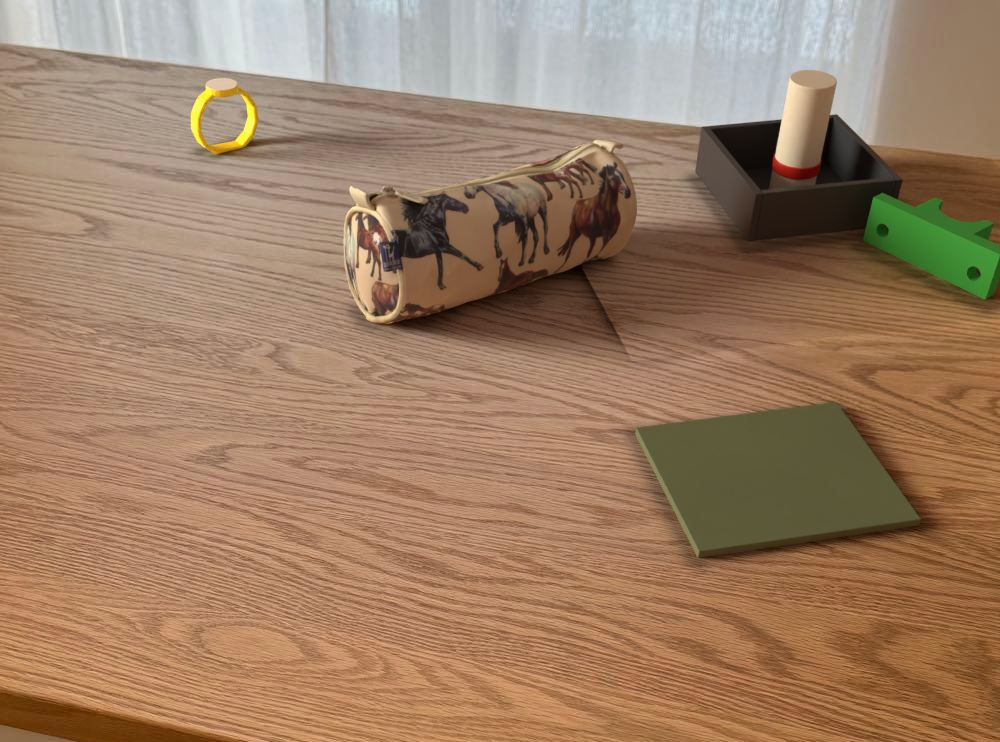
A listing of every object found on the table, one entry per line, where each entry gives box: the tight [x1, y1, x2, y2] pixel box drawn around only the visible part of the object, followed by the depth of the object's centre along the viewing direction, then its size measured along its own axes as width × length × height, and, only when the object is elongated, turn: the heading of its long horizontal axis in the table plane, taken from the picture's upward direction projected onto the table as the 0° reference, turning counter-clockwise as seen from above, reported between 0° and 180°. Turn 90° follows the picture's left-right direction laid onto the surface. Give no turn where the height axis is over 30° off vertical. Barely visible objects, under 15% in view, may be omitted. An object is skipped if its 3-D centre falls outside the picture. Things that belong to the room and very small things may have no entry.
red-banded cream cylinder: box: [769, 69, 838, 189], centre depth 100 cm, size 4×4×10 cm
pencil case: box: [343, 139, 638, 325], centre depth 91 cm, size 22×8×10 cm, turn 119°
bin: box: [695, 114, 904, 242], centre depth 102 cm, size 12×12×5 cm
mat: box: [634, 401, 922, 559], centre depth 77 cm, size 14×12×1 cm
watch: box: [190, 77, 259, 155], centre depth 109 cm, size 6×3×6 cm, turn 127°
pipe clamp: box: [862, 193, 1000, 301], centre depth 95 cm, size 11×4×5 cm, turn 39°
